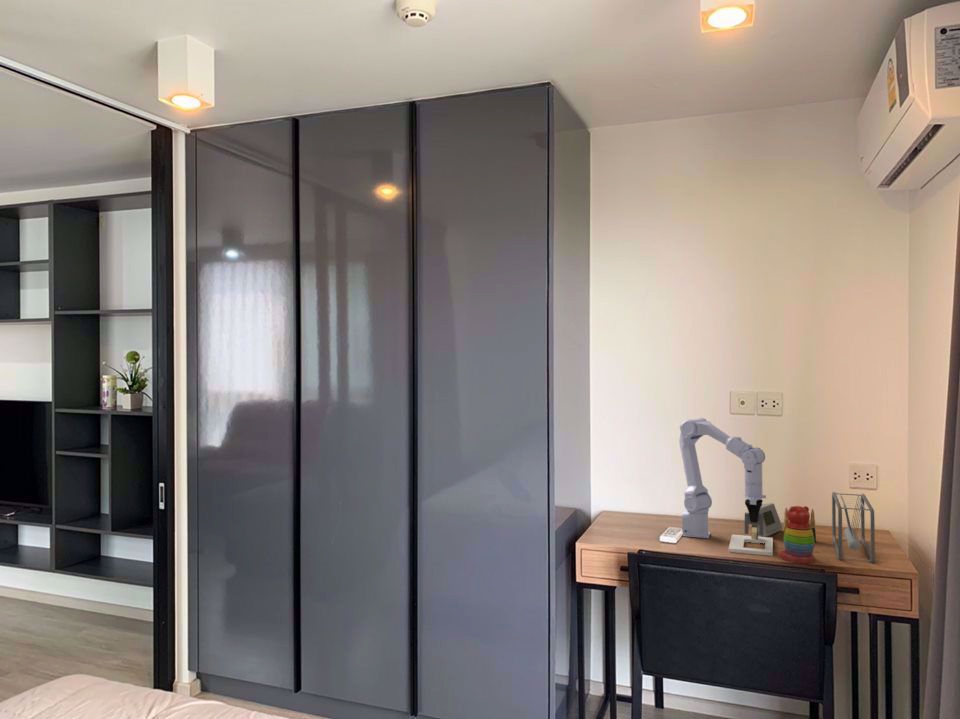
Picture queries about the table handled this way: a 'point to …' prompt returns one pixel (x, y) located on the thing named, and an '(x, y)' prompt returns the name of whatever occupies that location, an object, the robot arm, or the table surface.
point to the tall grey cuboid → (754, 523)
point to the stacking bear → (798, 537)
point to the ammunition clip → (811, 523)
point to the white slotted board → (739, 540)
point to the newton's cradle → (850, 532)
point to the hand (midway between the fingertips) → (754, 521)
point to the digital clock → (770, 520)
